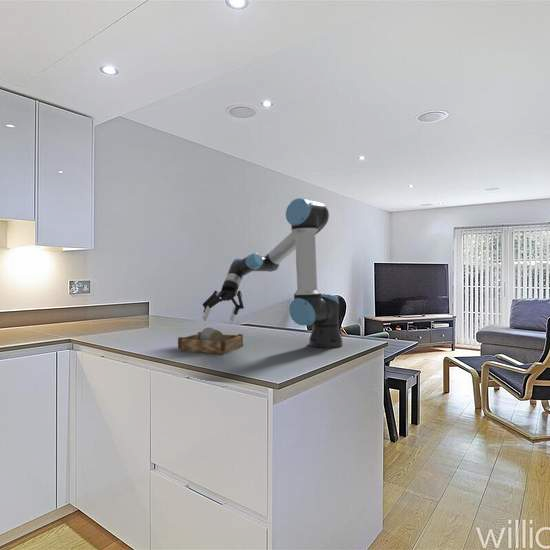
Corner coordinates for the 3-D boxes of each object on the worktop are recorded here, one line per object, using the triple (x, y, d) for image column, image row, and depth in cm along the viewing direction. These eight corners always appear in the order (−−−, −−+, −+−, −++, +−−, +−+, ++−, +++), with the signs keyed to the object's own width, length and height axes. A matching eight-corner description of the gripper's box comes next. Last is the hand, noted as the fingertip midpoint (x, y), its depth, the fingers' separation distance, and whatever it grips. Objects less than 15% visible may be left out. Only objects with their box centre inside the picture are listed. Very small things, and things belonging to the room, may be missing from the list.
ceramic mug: (210, 348, 167) (210, 330, 167) (199, 345, 173) (200, 328, 173) (230, 345, 174) (230, 328, 174) (219, 343, 180) (219, 326, 180)
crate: (243, 346, 177) (243, 334, 177) (224, 354, 160) (224, 340, 160) (200, 343, 185) (200, 331, 185) (178, 350, 168) (178, 337, 168)
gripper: (257, 290, 191) (245, 325, 177) (211, 290, 199) (196, 323, 185) (252, 279, 186) (240, 314, 172) (205, 279, 194) (190, 313, 180)
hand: (217, 319), depth 178 cm, fingers open, 13 cm apart
